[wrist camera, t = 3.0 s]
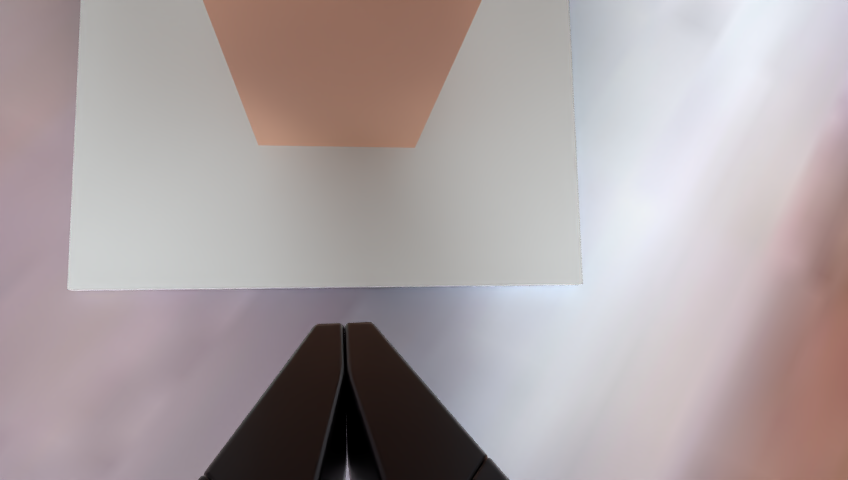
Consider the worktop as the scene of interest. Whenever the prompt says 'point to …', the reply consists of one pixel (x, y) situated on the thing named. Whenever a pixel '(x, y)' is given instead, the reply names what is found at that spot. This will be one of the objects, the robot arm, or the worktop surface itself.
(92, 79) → the rubber mat
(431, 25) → the terracotta block
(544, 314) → the worktop surface
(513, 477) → the worktop surface
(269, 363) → the worktop surface
